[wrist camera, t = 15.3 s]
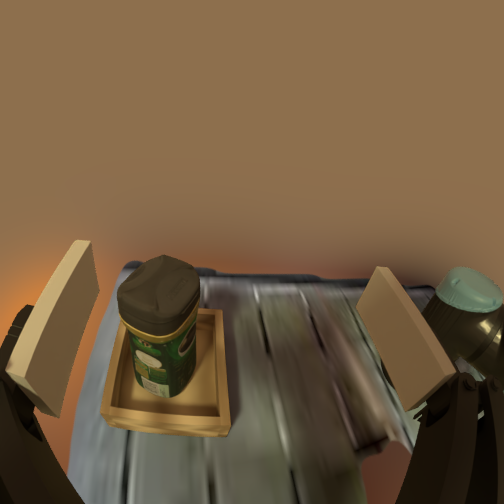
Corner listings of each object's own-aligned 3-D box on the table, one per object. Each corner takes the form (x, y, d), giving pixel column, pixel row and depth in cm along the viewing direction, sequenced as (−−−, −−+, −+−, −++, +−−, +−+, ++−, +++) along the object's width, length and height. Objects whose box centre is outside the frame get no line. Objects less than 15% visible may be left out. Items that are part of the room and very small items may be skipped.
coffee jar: (158, 339, 41) (153, 241, 31) (202, 359, 40) (213, 262, 30) (127, 383, 33) (100, 287, 23) (175, 408, 32) (169, 320, 22)
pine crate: (219, 329, 47) (222, 309, 45) (226, 436, 31) (230, 425, 28) (129, 321, 44) (126, 301, 41) (109, 426, 28) (99, 412, 25)
